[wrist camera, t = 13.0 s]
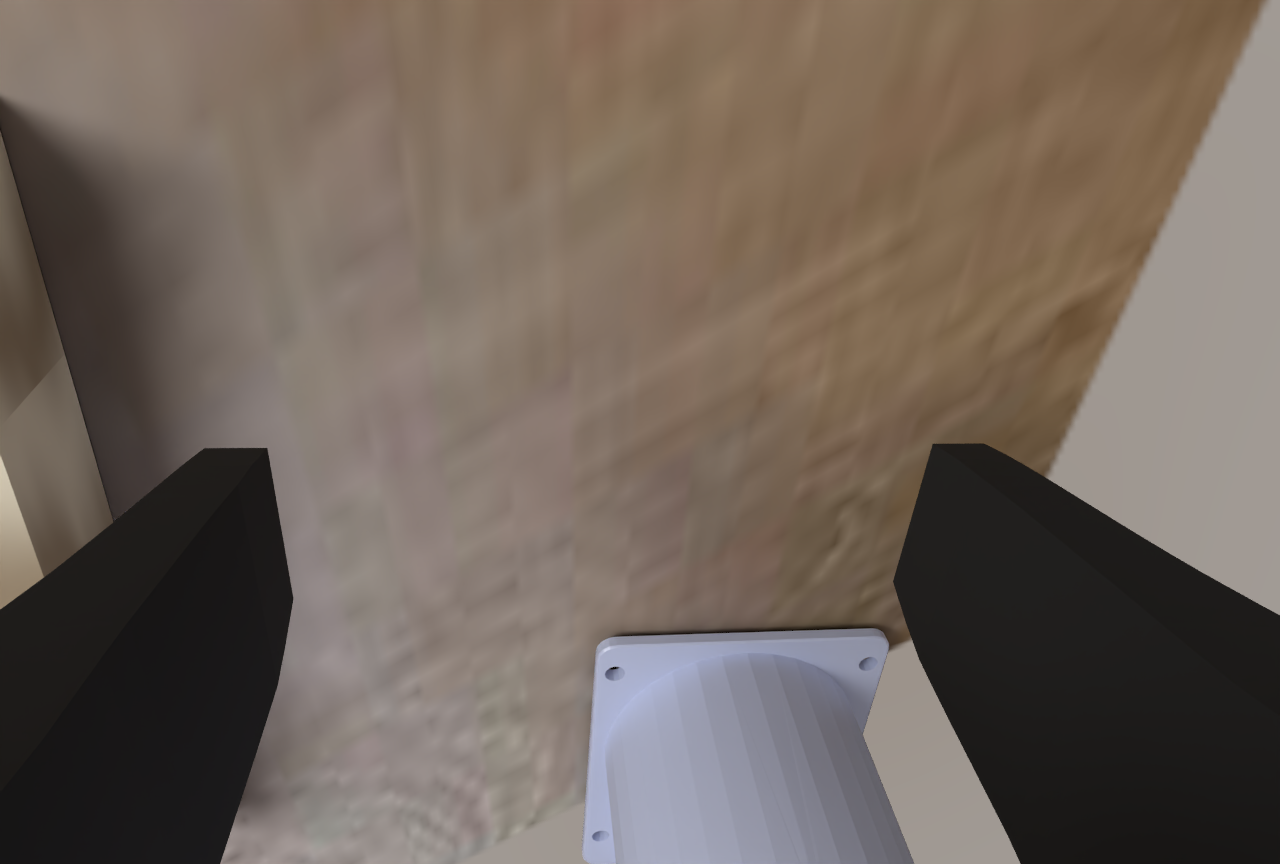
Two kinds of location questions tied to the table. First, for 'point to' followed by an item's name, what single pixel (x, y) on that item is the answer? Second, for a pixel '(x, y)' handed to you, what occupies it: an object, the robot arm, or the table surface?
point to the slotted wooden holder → (37, 421)
